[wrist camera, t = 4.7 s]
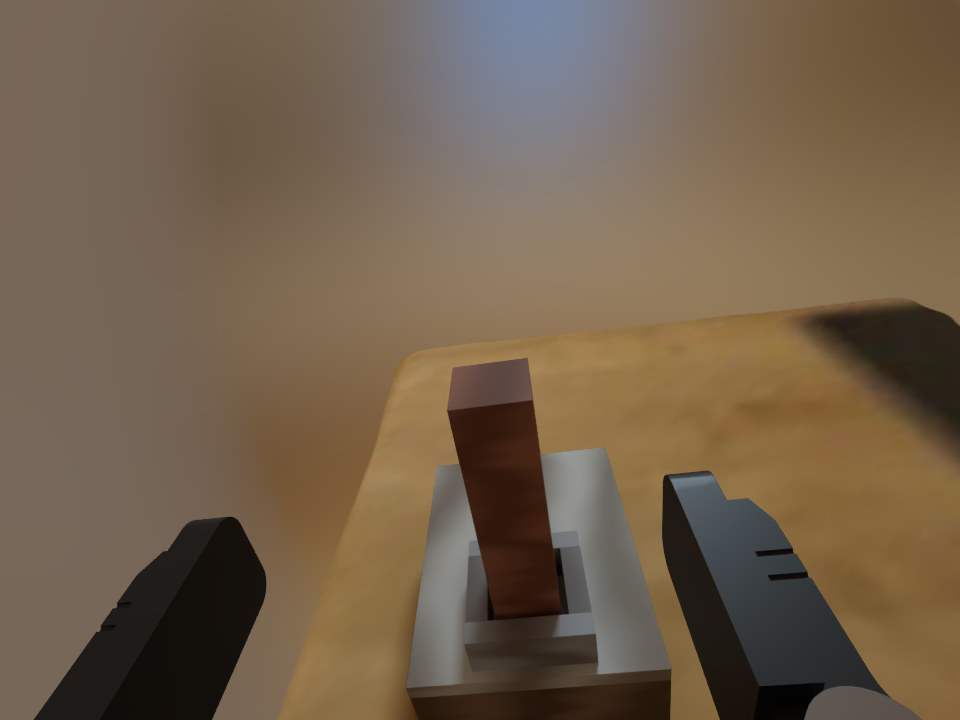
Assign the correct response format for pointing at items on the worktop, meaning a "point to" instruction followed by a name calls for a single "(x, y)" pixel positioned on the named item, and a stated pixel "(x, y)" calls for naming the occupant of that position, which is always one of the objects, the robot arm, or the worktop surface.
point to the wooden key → (505, 485)
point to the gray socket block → (547, 639)
